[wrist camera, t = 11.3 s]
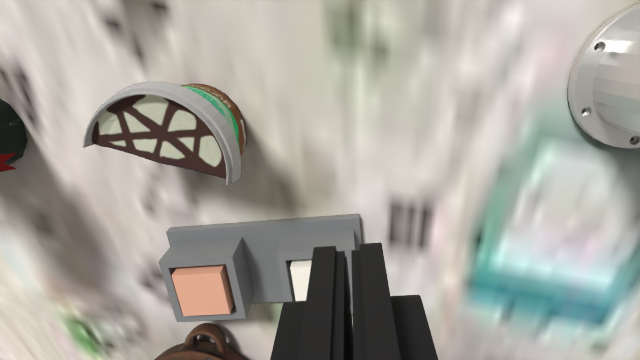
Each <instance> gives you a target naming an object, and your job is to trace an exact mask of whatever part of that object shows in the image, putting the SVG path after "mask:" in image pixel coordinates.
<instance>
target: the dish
mask: <svg viewBox="0 0 640 360" xmlns="http://www.w3.org/2000/svg"><path fill="white" fill-rule="evenodd" d="M198 335H206V336H209V337H210V338H212V339H213V340H214V342H215V343H210V342H205V341H199V340H197V336H198ZM155 360H245V359H244V358H242V357H241V356H240V355H238V354H237V353H235V352H234V351H232V350H231V349H229V348H228V346H227V342H226V337H225V335H224V333H223V332H222V330H221V329H220V328H219V327H217V326H216V325H214V324H211V323H203V324H200V325H198V326H197V327H195V328H194V329H193V330H192V331H191V332H190V334H189V335H188V336H187V338H186V340H185V343H183V344H179V345H176V346H174V347H171V348H170V349H168V350H166V351H165V352H163V353H162V354H161V355H160V356H158V357H157V358H156V359H155Z"/></svg>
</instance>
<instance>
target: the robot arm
mask: <svg viewBox="0 0 640 360" xmlns="http://www.w3.org/2000/svg"><path fill="white" fill-rule="evenodd" d="M595 45H596V48H595V49H594V47H595ZM568 101H569V105H570V110H571V113H572V115H573V117H574V119H575V121H576V123H577V124H578V125H579V126H580V127H581V129H582V130H583V131H584V132H585V133H587V134H588V135H589V136H591V137H592V138H594V139H596V140H598V141H600V142H602V143H605V144H608V145H611V146H614V147H620V148H640V4H636V5H634V6H632V7H630V8H627V9H625V10H623V11H621V12H619V13H618V14H616V15H615V16H613V17H612V18H611V19H609V20H608V21H606V22H605V23H604V24H603V25H602V26H601V27H600V28H599V29H597V30H596V31H595V32H594V33H593V35H592V36H591V37H590V38H589V39H588V41H587V42H586V43H585V44H584V46H583V48H582V49H581V51H580V53H579V54H578V56H577V58H576V60H575V63H574V65H573V68H572V71H571V73H570V79H569V84H568ZM582 110H583V111H582ZM351 259H352V300H353V326H352V316H351V306H350V297H349V287H348V277H347V268H346V258H345V251H337V249H336V246H323V247H314V249H313V256H312V263H311V269H310V276H309V283H308V290H307V297H306V301H291V302H285V303H284V304H283V307H282V311H281V315H280V320H279V324H278V328H277V333H276V337H275V342H274V346H273V350H272V355H271V359H270V360H438V357H437V354H436V350H435V347H434V343H433V339H432V336H431V332H430V329H429V325H428V321H427V318H426V314H425V311H424V307H423V303H422V300H421V297H420V296H419V295H406V296H390V292H389V286H388V280H387V274H386V268H385V262H384V256H383V250H382V244H381V243H368V244H360V250H351Z"/></svg>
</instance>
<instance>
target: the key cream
mask: <svg viewBox="0 0 640 360" xmlns="http://www.w3.org/2000/svg"><path fill="white" fill-rule="evenodd" d="M311 263H312V259H302V260H292V263H291V267H290V269H291V275H292V281H293V288H294V294H295V300H296V301H306V297H307V290H308V283H309V276H310V269H311Z"/></svg>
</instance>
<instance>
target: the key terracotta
mask: <svg viewBox="0 0 640 360" xmlns="http://www.w3.org/2000/svg"><path fill="white" fill-rule="evenodd" d="M172 279H173V283H174V286H175V289H176V293H177V296H178V300H179V303H180V306H181V310H182V313H183V316H197V315H217V314H230V312H231V310H232V308H233V305H234V303H235V301H234V297H233V293H232V288H231V284H230V280H229V275H228V271H227V267H226V264H222V265H206V266H190V267H177V269H176V270H175V271H174V273H173V274H172Z"/></svg>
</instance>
